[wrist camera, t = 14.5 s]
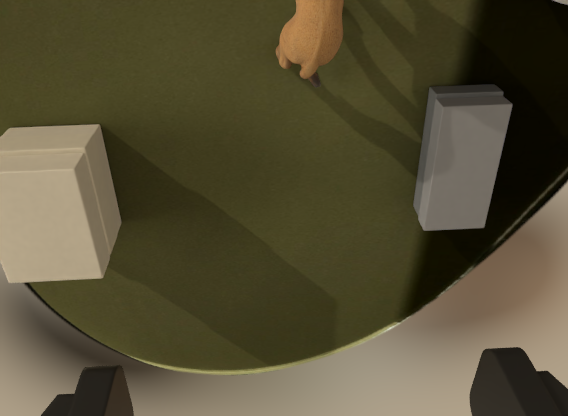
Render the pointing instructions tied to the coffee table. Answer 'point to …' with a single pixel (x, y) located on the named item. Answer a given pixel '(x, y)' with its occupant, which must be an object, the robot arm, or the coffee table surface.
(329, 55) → the lion figurine
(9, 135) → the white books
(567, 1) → the grey stone
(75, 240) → the cream flat block
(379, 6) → the coffee table surface
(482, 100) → the grey block
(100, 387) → the robot arm
